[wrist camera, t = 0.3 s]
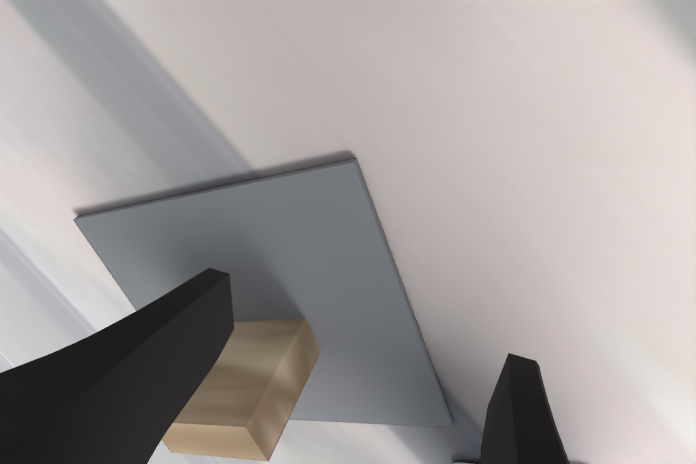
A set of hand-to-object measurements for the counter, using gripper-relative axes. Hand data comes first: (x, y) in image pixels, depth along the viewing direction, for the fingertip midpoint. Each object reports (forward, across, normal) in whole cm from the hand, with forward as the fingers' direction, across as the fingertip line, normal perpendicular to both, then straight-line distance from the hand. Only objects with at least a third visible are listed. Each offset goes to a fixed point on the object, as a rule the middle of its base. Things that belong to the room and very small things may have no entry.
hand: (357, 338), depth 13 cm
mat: (+10, +8, +12) cm, 17 cm away
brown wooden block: (+10, +7, +13) cm, 18 cm away
